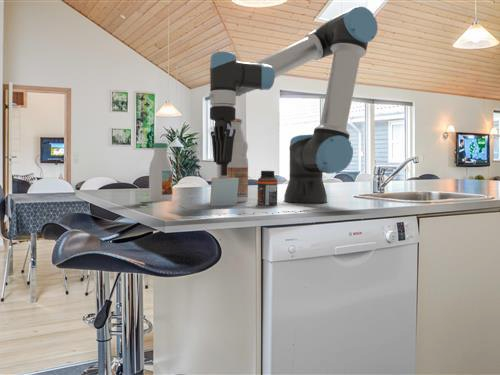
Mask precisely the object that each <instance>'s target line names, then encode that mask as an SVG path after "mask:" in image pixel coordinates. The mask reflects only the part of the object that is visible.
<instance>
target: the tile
mask: <svg viewBox="0 0 500 375" xmlns="http://www.w3.org/2000/svg"><path fill="white" fill-rule="evenodd" d="M238 181H239V179H238V178H217V177H211V181H210V182H211V183H210V184H211V186H210V199H209V205H211V206H223V205H237V204H238V202H237V194H238Z"/></svg>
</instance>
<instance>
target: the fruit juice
mask: <svg viewBox="0 0 500 375" xmlns="http://www.w3.org/2000/svg"><path fill="white" fill-rule="evenodd" d="M242 122H243V121H242V119H241V118H235V120H233V121H231V128H232V129H235V130H236V132H235V136H234V142H233V151H232V160H231V162H229V164H228V178H238V179H239V181H238V194H237V203H242V202H248V200H249V159H248V156H247V153H248V151H249V150H248V148H249V144H248V141H247V140H246V137H245V135H244V132H243V129H242V126H241V125H242V124H243V123H242Z"/></svg>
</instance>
